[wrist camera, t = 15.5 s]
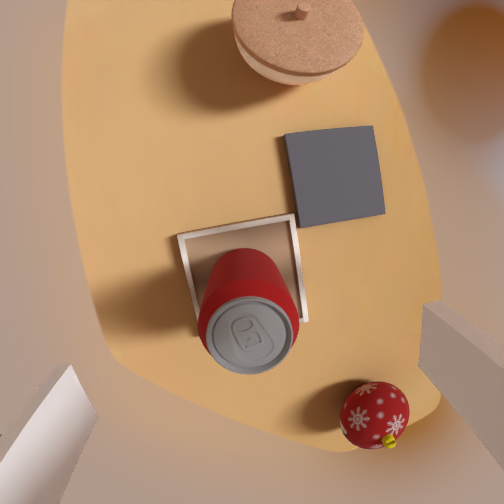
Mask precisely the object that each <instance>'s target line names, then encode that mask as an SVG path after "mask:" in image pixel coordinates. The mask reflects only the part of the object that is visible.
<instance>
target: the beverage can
mask: <svg viewBox="0 0 504 504" xmlns="http://www.w3.org/2000/svg"><path fill="white" fill-rule="evenodd" d="M298 330H299V316H298V312H297V309H296V306H295V304H294V302H293V299H292V297H291V295H290V292H289V290H288V288H287V286H286V284H285V282H284V280H283V277H282V275H281V273H280V272H279V270H278V268H277V266H276V264H275V263H274V261H273V260H272V259H271V258H270V257H269V256H268V255H266V254H265V253H263V252H261V251H259V250H256V249H252V248H239V249H235V250H232V251H229V252H227V253H226V254H224V255H223V256H222V257H220V258H219V259H218V261H217V262H216V263H215V265H214V266H213V268H212V271H211V274H210V277H209V280H208V283H207V286H206V290H205V293H204V297H203V300H202V304H201V308H200V312H199V317H198V332H199V336H200V339H201V341H202V343H203V345H204V347H205V348H206V350H207V351H208V352H209V353H210V355H211V356H212V357H213V358H214V359H215V361H216V362H217V363H218V364H220V365H221V366H222V367H224V368H226V369H228V370H230V371H232V372H235V373H240V374H258V373H262V372H265V371H268V370H270V369H272V368H274V367H275V366H277V365H278V364H279V363H281V362H282V361H283V360H284V358H285V357H286V356H287V354H288V353H289V351H290V349H291V347H292V346H293V344H294V342H295V340H296V338H297V335H298Z"/></svg>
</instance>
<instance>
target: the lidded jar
mask: <svg viewBox="0 0 504 504" xmlns="http://www.w3.org/2000/svg"><path fill="white" fill-rule="evenodd" d="M232 26H233V30H234V36H235V41H236V44H237V47H238V49H239V51H240V53H241V55H242V56H243V58H244V59H245V61H246V62H247V63H248V64H249V66H250V67H251V68H252V69H254V70H255V71H256V72H257V73H259V74H260V75H262V76H264V77H265V78H267V79H270V80H272V81H275V82H278V83H281V84H288V85H305V84H310V83H314V82H318V81H320V80H323V79H325V78H327V77H329V76H330V75H332V74H333V73H335V72H337V71H338V70H339V69H340V68H341V67H343V66H345V65H346V64H347V63H348V62H349V61H350V60H351V59H352V58H353V57H354V56H355V55H356V53H357V52H358V51H359V48H360V46H361V44H362V39H363V25H362V20H361V17H360V15H359V12H358V11H357V9H356V7H355V5H354V4H353V3H352V1H351V0H235V1H234V4H233V8H232Z"/></svg>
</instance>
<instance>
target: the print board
mask: <svg viewBox="0 0 504 504" xmlns="http://www.w3.org/2000/svg"><path fill="white" fill-rule="evenodd" d="M177 238H178V243H179V247H180V252H181V256H182V260H183V265H184V269H185V273H186V278H187V282H188V286H189V290H190V294H191V298H192V302H193V306H194V310H195V314H196V318H197V321H198V317H199V312H200V308H201V304H202V300H203V297H204V293H205V290H206V286H207V283H208V280H209V277H210V274H211V271H212V268H213V266H214V265H215V263H216V262H217V261H218V259H219V258H220V257H222V256H223V255H224V254H226V253H227V252H229V251H232V250H235V249H239V248H252V249H256V250H259V251H261V252H263V253H265V254H266V255H268V256H269V257H270V258H271V259H272V260H273V261H274V263H275V264H276V266H277V268H278V270H279V272H280V273H281V275H282V277H283V280H284V282H285V284H286V286H287V288H288V290H289V292H290V295H291V297H292V299H293V302H294V304H295V306H296V309H297V312H298V316H299V323H303V322H308V321H309V320H308V312H307V303H306V295H305V287H304V280H303V272H302V265H301V258H300V251H299V244H298V237H297V230H296V223H295V217H294V214H293V213H292V212H291V213H285V214H280V215H274V216H268V217H262V218H257V219H251V220H246V221H240V222H235V223H229V224H224V225H218V226H213V227H208V228H203V229H197V230H192V231H187V232H182V233H179V234H178V235H177Z"/></svg>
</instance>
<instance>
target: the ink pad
mask: <svg viewBox="0 0 504 504" xmlns="http://www.w3.org/2000/svg"><path fill="white" fill-rule="evenodd" d="M284 141H285V146H286V152H287V157H288V163H289V169H290V175H291V181H292V187H293V193H294V199H295V205H296V212H297V218H298V225H299V227H300V228H305V227H311V226H317V225H322V224H328V223H334V222H340V221H346V220H352V219H358V218H364V217H370V216H376V215H382V214H385V205H384V196H383V188H382V180H381V173H380V166H379V160H378V153H377V147H376V141H375V136H374V130H373V126H358V127H345V128H334V129H323V130H314V131H305V132H296V133H289V134H285V135H284Z"/></svg>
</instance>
